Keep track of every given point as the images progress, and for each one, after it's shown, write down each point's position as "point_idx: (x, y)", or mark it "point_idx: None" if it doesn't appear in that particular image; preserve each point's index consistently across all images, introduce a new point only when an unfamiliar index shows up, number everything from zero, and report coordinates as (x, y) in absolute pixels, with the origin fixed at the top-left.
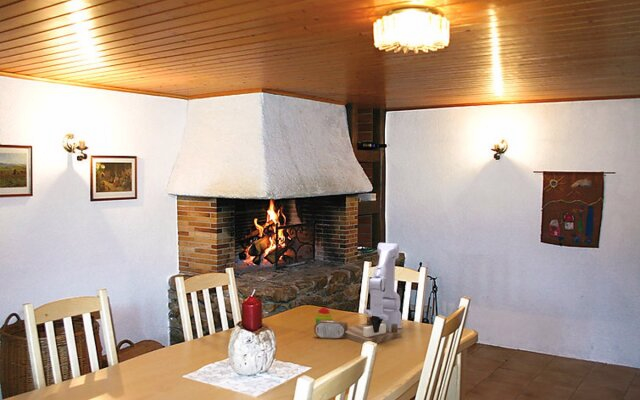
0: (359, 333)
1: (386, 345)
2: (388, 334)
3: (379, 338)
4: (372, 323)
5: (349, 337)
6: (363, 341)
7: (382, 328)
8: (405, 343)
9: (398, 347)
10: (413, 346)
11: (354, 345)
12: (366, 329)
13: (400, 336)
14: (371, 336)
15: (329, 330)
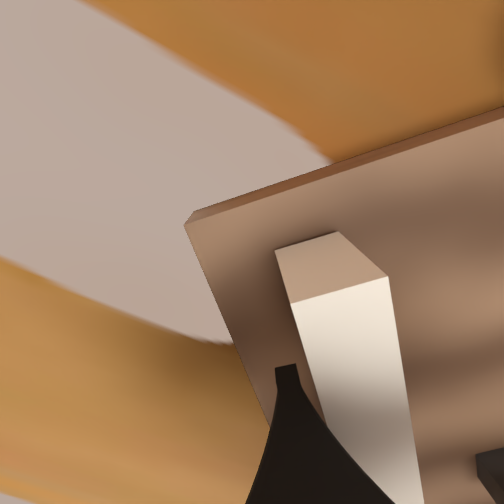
0: (471, 239)
1: (157, 351)
2: None
3: (243, 358)
4: (330, 466)
5: (494, 112)
6: (263, 192)
7: None
8: (170, 470)
9: (87, 404)
10: (93, 484)
11: (244, 63)
12: (304, 290)
13: None
14: None
15: None
